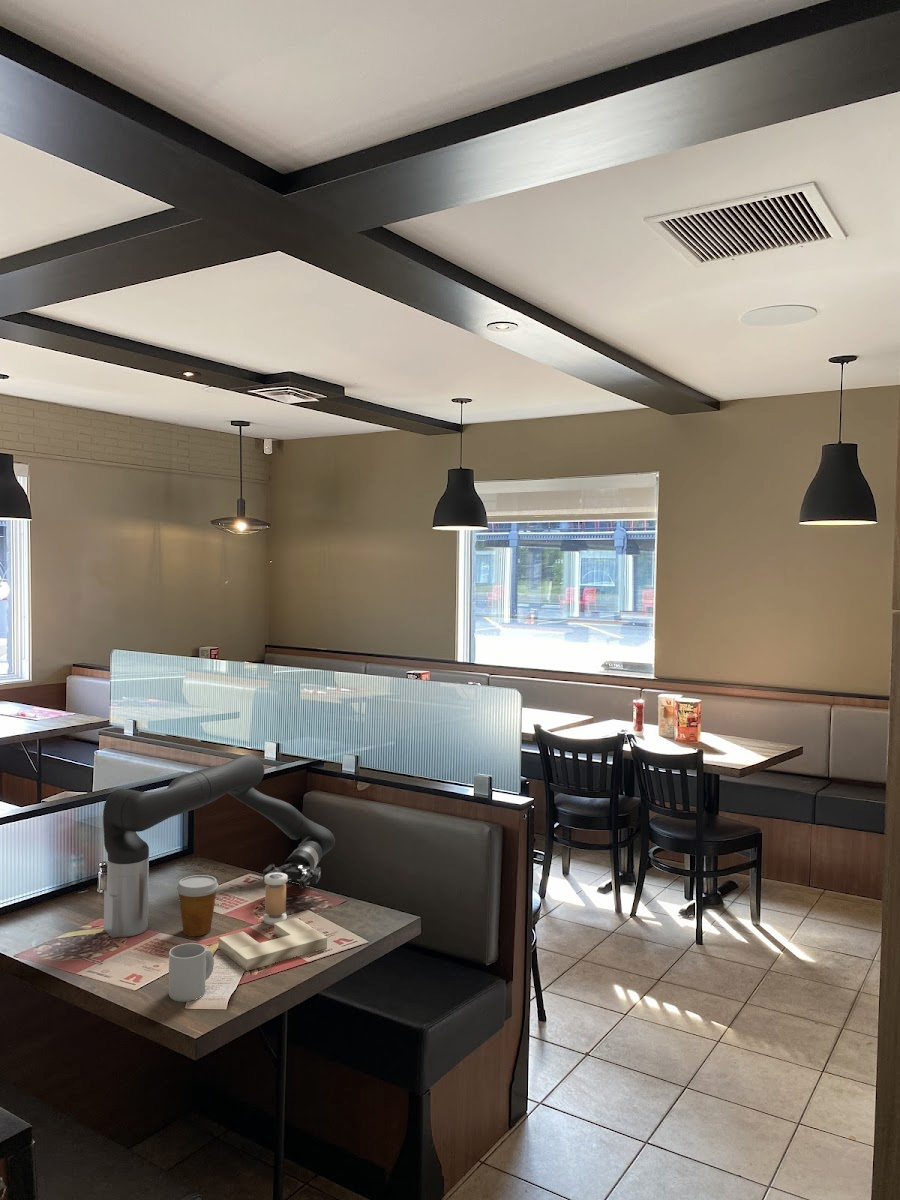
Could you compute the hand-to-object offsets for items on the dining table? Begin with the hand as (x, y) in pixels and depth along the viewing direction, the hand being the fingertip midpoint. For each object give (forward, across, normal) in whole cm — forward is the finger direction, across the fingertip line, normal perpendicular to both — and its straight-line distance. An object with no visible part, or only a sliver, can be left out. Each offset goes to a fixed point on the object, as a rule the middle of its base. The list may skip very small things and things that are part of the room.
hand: (284, 883), depth 230 cm
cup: (+46, -6, +7) cm, 47 cm away
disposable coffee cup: (+17, -16, +7) cm, 24 cm away
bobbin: (+8, 0, +7) cm, 10 cm away
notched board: (+23, +4, +7) cm, 24 cm away
